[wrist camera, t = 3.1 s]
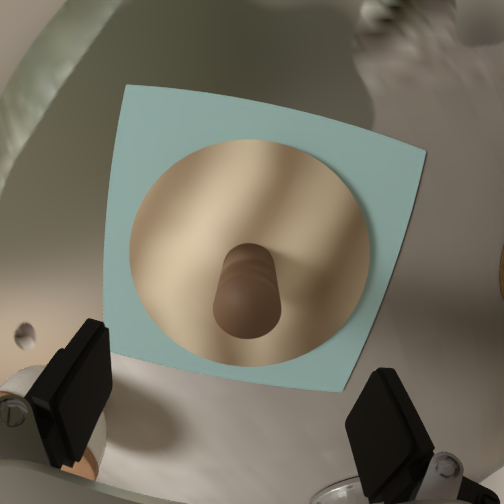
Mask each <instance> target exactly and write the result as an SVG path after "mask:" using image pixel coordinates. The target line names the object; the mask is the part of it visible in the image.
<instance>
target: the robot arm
mask: <svg viewBox="0 0 504 504" xmlns="http://www.w3.org/2000/svg"><path fill="white" fill-rule="evenodd" d="M111 390H112V371H111V356H110V335H109V328H107V327H105V324H104V322H101V321H97V320H94V319H90V318H88V319H87V320H86V321H85V323H84V324H83V325H82V327H81V328H80V329H79V330H78V332H77V333H76V334H75V336H74V337H73V338H72V340H71V341H70V342H69V344H68V345H67V346H66V348H65V349H63V348H61V349H59V350H58V351H57V352H56V354H55V355H54V356H53V358H52V359H51V360H50V362H49V363H48V364H47V366H46V367H45V368H44V370H43V371H42V373H41V374H40V375H39V377H38V378H37V379H36V381H35V382H34V384H33V385H32V387H31V388H30V389H29V391H28V392H27V394H26V395H25V397H24V398H23V397H21V396H18V395H4V396H1V397H0V504H186V503H181V502H175V501H170V500H165V499H160V498H156V497H151V496H147V495H143V494H139V493H135V492H131V491H127V490H124V489H120V488H116V487H113V486H109V485H106V484H103V483H100V482H96V481H93V480H90V479H87V478H84V477H81V476H78V475H75V474H72V473H69V472H66V471H63V470H60V469H61V468H62V465H65V466H68V467H70V468H73V466H74V463H75V461H76V462H80V461H81V459H82V457H83V454H84V452H85V449H86V447H87V445H88V442H89V440H90V438H91V435H92V433H93V431H94V429H95V426H96V424H97V422H98V420H99V417H100V415H101V413H102V411H103V408H104V406H105V404H106V402H107V400H108V398H109V395H110V393H111ZM345 428H346V431H347V435H348V438H349V442H350V446H351V449H352V453H353V456H354V460H355V464H356V467H357V471H358V475H359V477H356V478H352V479H348V480H345V481H342V482H339V483H336V484H334V485H332V486H330V487H327V488H326V489H324V490H322V491H320V492H319V493H318V494H316V495H315V496H314V497H313V499H312V500H311V502H310V504H500V500H499V498H498V496H497V495H496V494H495V493H494V492H493V491H492V490H490V489H488V488H486V487H484V486H482V485H480V484H478V483H476V482H474V481H472V480H470V479H468V478H466V477H464V476H463V470H464V469H463V465H462V463H461V461H460V460H459V459H458V458H457V457H456V456H455V455H453V454H451V453H448V452H439V453H436V454H435V455H434V453H433V450H434V449H435V447H434V445H433V443H432V441H431V439H430V437H429V435H428V433H427V431H426V429H425V427H424V425H423V423H422V421H421V419H420V417H419V415H418V413H417V411H416V409H415V407H414V405H413V403H412V401H411V399H410V397H409V395H408V394H407V392H406V390H405V388H404V386H403V384H402V382H401V380H400V379H399V377H398V375H397V373H396V371H395V370H394V369H393V368H381V367H380V368H378V369H377V370H376V371H373V372H372V374H371V375H370V377H369V379H368V381H367V383H366V385H365V387H364V389H363V390H362V392H361V394H360V396H359V398H358V400H357V401H356V403H355V405H354V407H353V408H352V410H351V412H350V413H349V415H348V417H347V419H346V422H345Z"/></svg>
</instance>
